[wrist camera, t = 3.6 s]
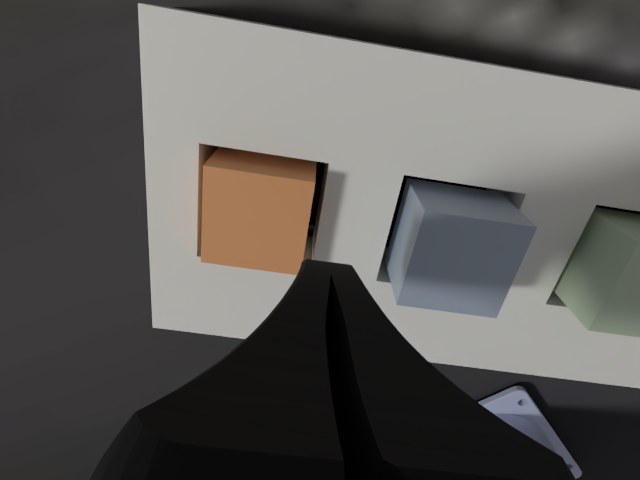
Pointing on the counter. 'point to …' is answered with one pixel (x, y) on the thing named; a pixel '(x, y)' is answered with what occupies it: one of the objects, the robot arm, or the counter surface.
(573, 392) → the counter surface
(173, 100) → the button panel
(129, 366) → the counter surface
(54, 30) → the counter surface
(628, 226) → the sage green button
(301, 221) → the terracotta button
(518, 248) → the slate blue button
